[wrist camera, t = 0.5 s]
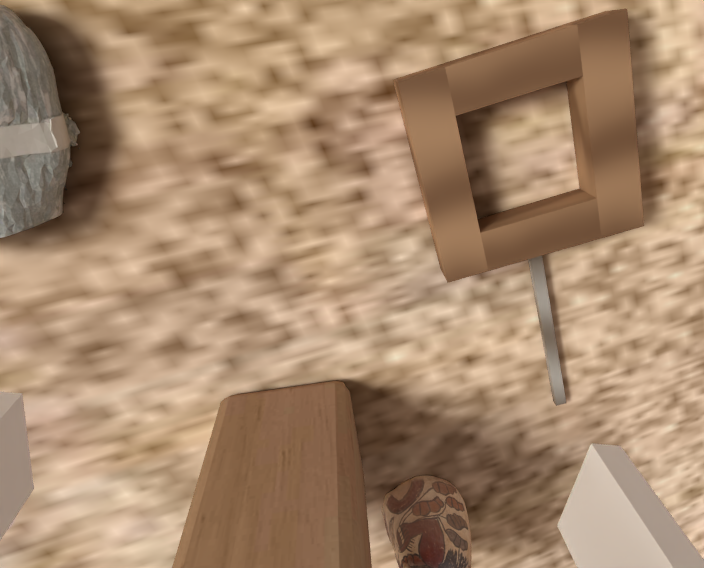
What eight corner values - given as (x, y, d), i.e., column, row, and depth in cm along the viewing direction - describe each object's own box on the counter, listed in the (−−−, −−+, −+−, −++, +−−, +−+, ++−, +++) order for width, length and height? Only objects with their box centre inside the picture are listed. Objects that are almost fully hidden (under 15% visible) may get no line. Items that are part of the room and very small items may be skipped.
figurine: (387, 472, 45) (407, 609, 34) (470, 476, 46) (515, 611, 35) (378, 534, 48) (393, 677, 37) (455, 536, 49) (493, 679, 38)
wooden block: (347, 373, 41) (364, 634, 23) (364, 472, 45) (389, 761, 27) (218, 391, 41) (133, 665, 23) (246, 489, 45) (193, 787, 27)
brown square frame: (392, 79, 33) (397, 82, 30) (605, 11, 32) (626, 8, 29) (478, 420, 44) (487, 441, 41) (639, 377, 43) (657, 396, 40)
